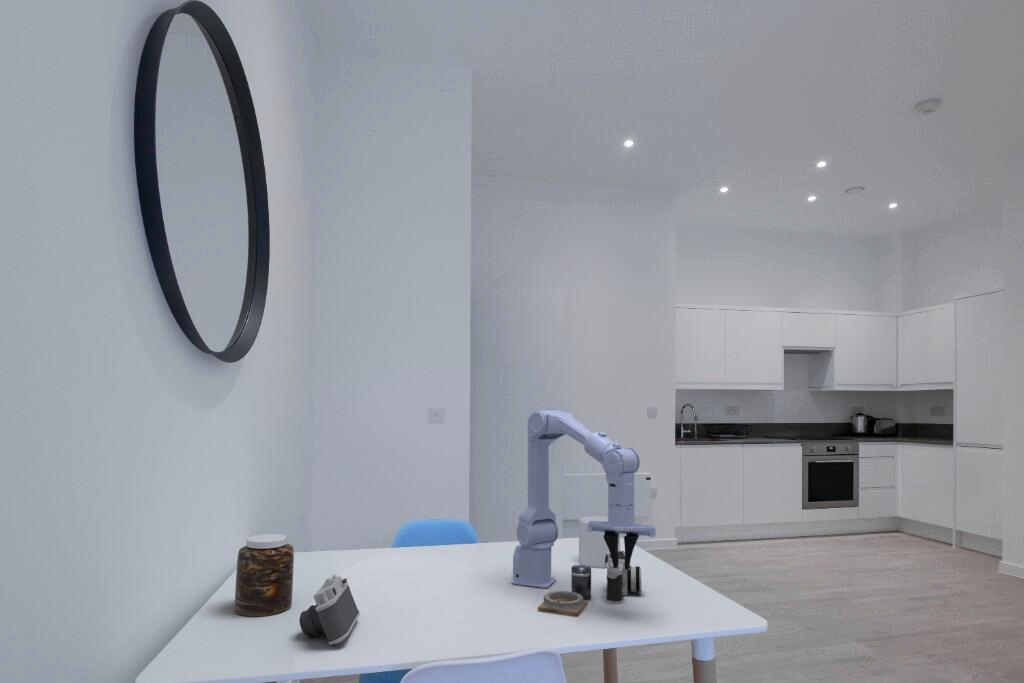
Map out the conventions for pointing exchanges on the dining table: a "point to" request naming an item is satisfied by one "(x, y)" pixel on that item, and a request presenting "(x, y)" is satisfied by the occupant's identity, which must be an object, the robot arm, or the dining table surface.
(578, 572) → the lens
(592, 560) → the cup
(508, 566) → the dining table surface
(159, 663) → the dining table surface
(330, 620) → the camera
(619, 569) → the camera
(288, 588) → the jar
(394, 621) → the dining table surface
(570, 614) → the mount
